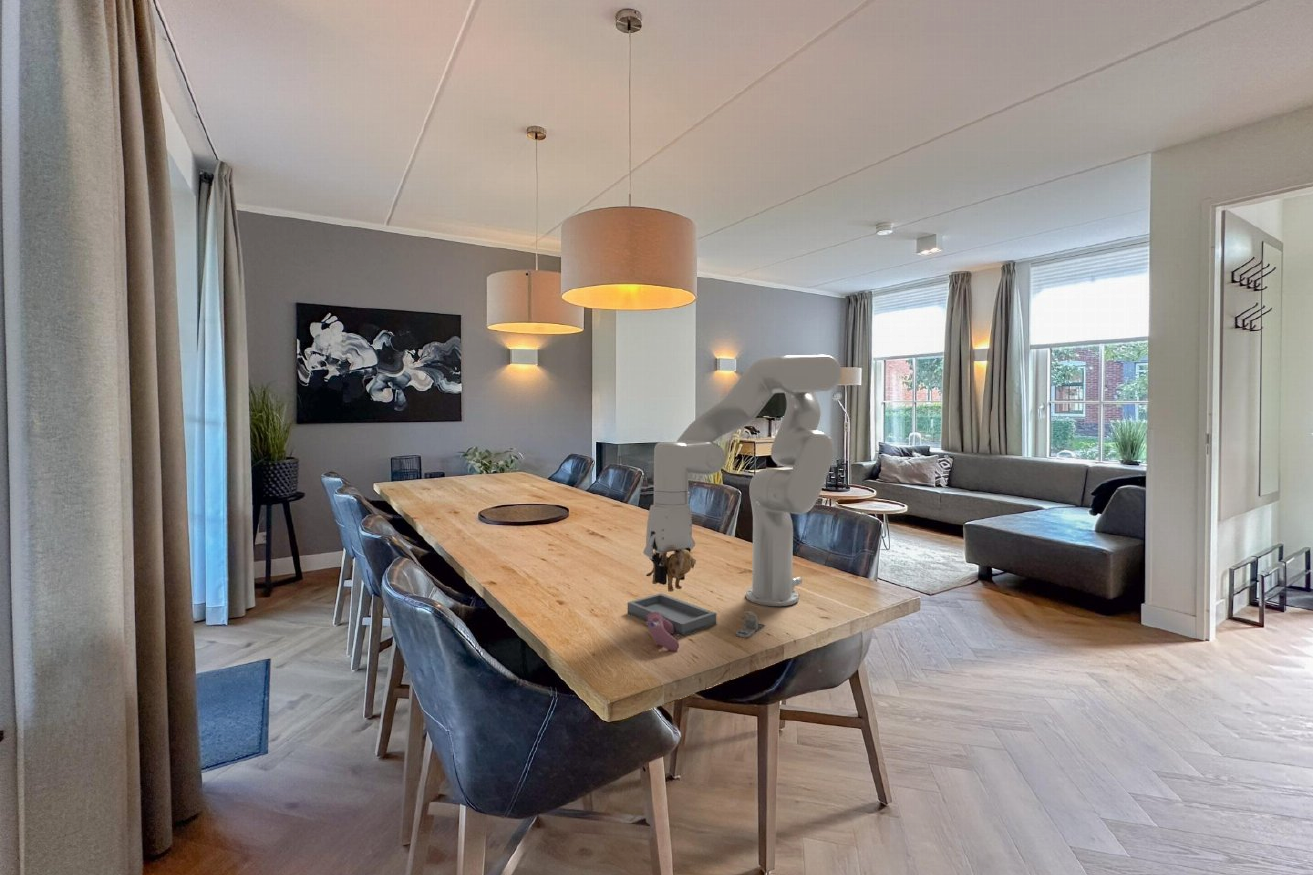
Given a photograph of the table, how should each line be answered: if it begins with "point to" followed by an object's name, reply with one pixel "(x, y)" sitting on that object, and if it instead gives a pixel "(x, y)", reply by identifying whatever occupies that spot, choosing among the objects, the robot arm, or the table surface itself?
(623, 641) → the table surface
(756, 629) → the strap clip
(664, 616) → the slate tray
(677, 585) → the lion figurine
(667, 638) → the pink curved piece
